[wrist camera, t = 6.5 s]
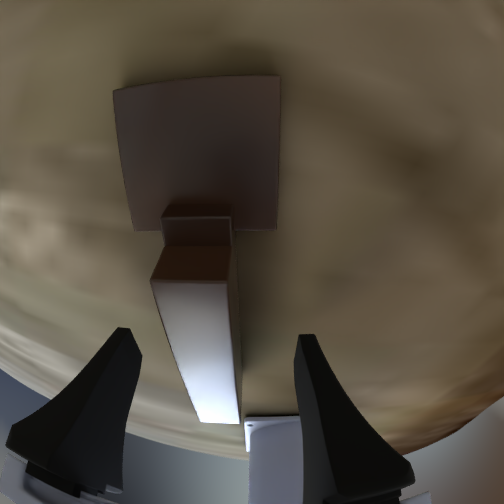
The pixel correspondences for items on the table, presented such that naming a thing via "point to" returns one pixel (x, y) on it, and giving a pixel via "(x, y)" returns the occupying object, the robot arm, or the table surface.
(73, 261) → the table surface
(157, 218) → the spatula
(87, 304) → the table surface
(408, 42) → the table surface
